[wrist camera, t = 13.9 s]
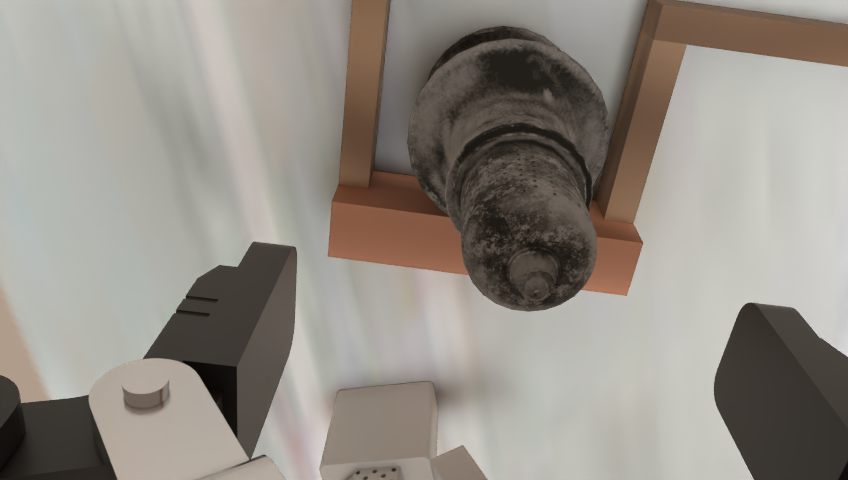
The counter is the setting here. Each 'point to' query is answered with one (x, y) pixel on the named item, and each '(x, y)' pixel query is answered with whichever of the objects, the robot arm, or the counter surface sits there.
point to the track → (627, 158)
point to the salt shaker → (513, 162)
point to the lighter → (390, 437)
